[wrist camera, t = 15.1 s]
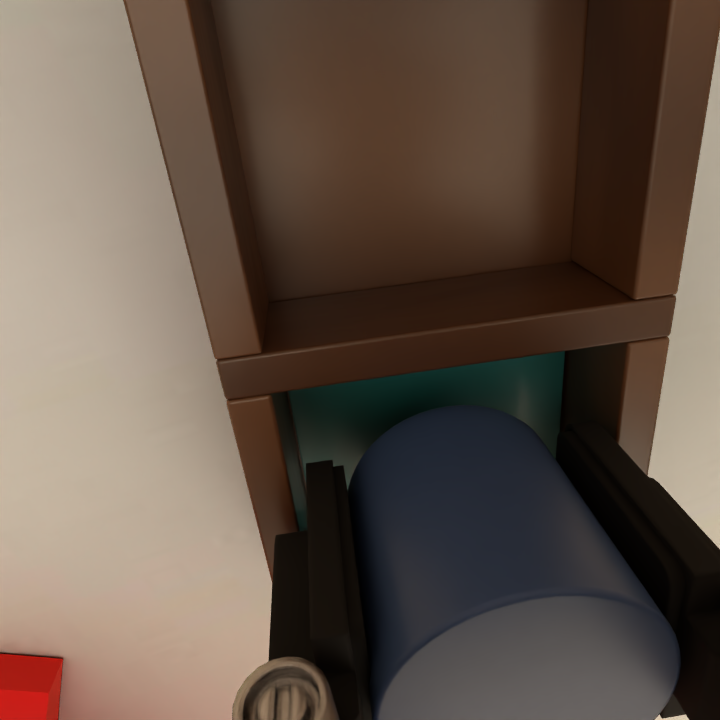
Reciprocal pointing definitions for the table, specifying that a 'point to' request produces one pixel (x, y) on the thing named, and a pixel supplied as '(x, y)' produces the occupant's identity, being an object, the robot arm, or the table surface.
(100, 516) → the table surface
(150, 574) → the table surface
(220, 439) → the table surface
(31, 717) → the bracket
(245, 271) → the holder
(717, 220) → the table surface
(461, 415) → the cylinder
